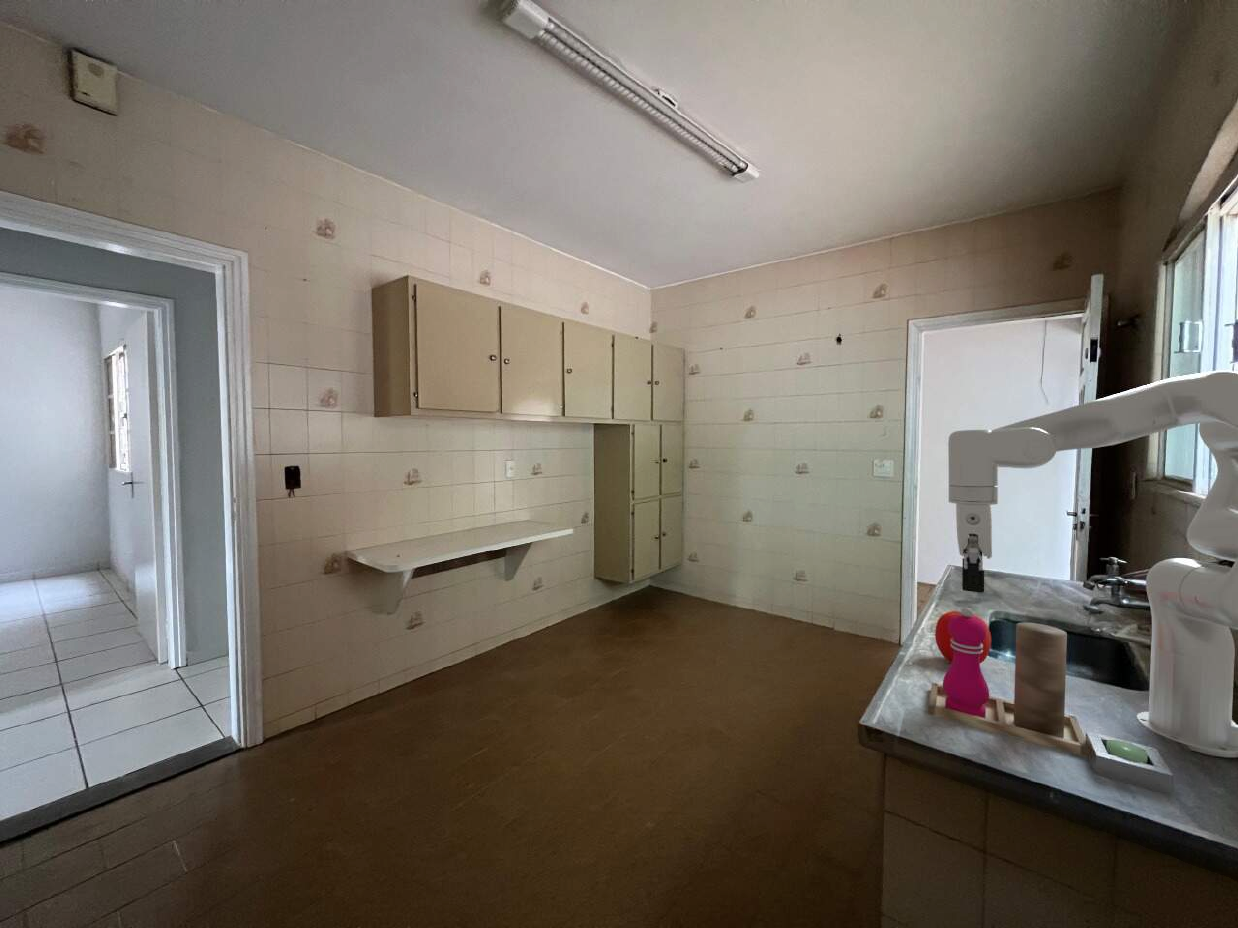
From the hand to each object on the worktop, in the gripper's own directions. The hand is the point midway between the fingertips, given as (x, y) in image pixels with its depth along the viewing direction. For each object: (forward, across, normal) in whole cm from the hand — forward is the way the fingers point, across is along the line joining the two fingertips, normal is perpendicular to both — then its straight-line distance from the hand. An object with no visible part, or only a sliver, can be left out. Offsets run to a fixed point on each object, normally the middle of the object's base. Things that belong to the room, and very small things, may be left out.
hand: (972, 585), depth 92 cm
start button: (+25, -8, -19) cm, 32 cm away
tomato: (+26, +26, +2) cm, 37 cm away
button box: (+26, -8, -19) cm, 33 cm away
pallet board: (+25, 0, -4) cm, 26 cm away
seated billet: (+24, 0, -9) cm, 26 cm away
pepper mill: (+24, -2, +1) cm, 24 cm away
